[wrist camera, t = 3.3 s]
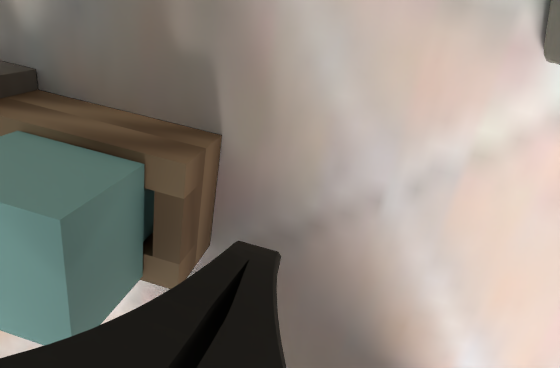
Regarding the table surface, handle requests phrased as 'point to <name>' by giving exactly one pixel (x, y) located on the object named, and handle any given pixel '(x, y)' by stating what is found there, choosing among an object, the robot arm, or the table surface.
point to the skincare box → (553, 34)
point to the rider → (67, 235)
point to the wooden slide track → (136, 147)
